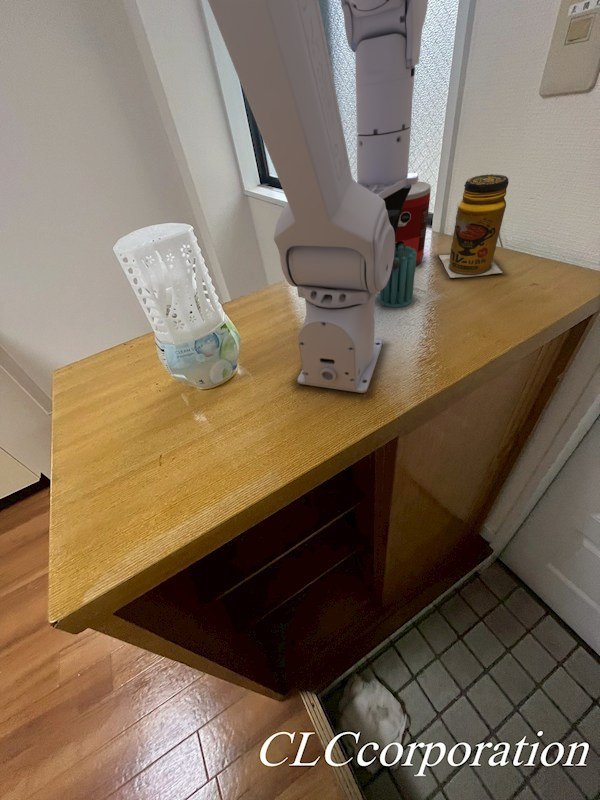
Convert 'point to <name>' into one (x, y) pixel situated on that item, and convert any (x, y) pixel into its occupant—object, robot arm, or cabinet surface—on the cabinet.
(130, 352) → the cabinet surface
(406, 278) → the pencil holder
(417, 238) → the canned food
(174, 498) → the cabinet surface
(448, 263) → the condiment
